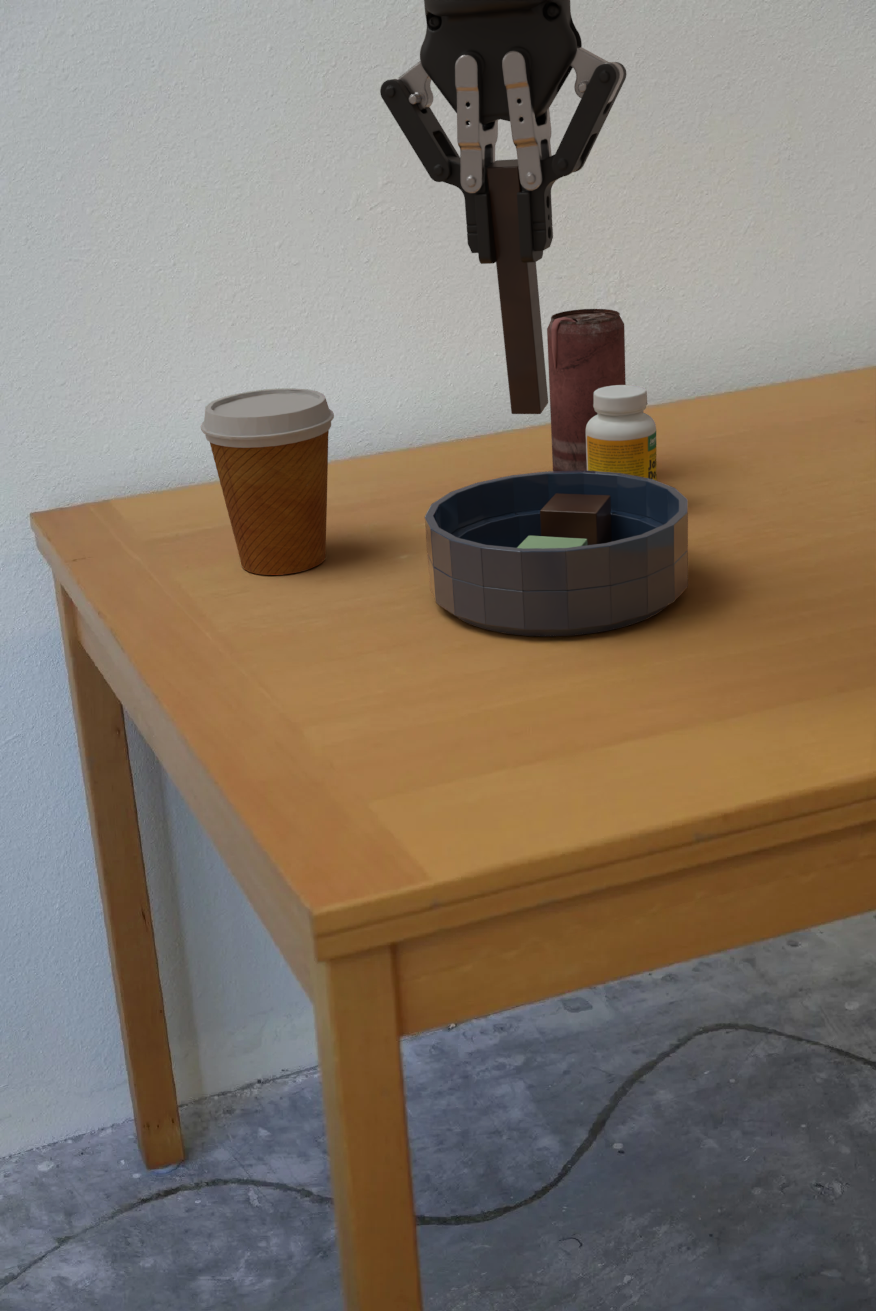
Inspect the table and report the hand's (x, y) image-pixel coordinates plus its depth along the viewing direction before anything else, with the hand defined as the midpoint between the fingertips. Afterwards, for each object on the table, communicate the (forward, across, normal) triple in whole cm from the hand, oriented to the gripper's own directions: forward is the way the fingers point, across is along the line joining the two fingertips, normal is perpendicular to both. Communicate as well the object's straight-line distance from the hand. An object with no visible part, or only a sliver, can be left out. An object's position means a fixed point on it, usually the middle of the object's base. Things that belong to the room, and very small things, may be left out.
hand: (511, 259), depth 81 cm
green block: (+23, -1, +6) cm, 24 cm away
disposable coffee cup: (+24, -23, +14) cm, 36 cm away
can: (+24, -5, +35) cm, 43 cm away
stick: (+9, 0, +2) cm, 9 cm away
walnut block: (+23, -1, +16) cm, 28 cm away
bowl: (+24, -1, +11) cm, 26 cm away
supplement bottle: (+24, -1, +28) cm, 37 cm away
